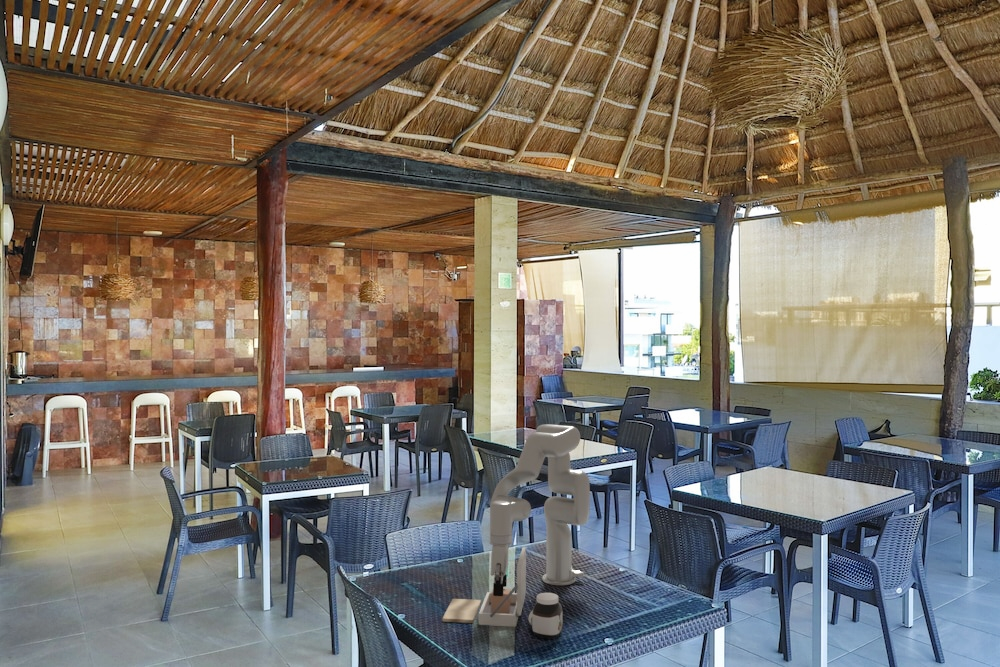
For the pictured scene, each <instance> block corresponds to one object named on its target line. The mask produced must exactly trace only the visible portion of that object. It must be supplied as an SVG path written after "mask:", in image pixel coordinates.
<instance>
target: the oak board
mask: <svg viewBox="0 0 1000 667" xmlns="http://www.w3.org/2000/svg"><path fill="white" fill-rule="evenodd" d="M481 605H482V599H467V598H465V599H464V598H452V599H451V601H450V603H449V605H448V607H447V608H446V611H445V612H444V615H443V616H442V618H441V619H442V623H445V622H446V623H465V624H466V623H467V624H474V621H475V619H476V616H477V614H478V613H479V612H478V611H479V610H480V609H479V608H481V607H480V606H481Z"/></svg>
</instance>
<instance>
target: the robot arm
mask: <svg viewBox="0 0 1000 667" xmlns="http://www.w3.org/2000/svg"><path fill="white" fill-rule="evenodd" d="M580 433H581V432H580V431H579V429H578V428H577V427H575V426H573V425H561V424H548V423H547V424H540V425H538V426H537V427H536V430H535V432H532V433H530V434H529V435H527V438H526V440H525V443H524V445H523V447H522V451H521V453H520V456H519V459H518V461H517V463H516V464H517V465H516V466H515V467H514V469H512V470H511V471H509V472H508V473H507V474H505V476H504V477H503V478H501V479H500V481H499V482H498V483H497V485H496V486H495V489H494V492H493V494H492V497H491V498H490V504H489V510H490V511H489V545H490V546H491V558H490V576H492V577H493V583H492V584H493V587H492V590H493V595H494V596H503V589H504V587H505V588H506V587H507V581H508V580H507V577H508V576H507V575H508V574H507V571H508V567H509V552H510V551H509V547H510V546H511V545H512V544H513V522H522V521H526V520H527V519H528V518H529V516H530V515H531V511H532V507H531V504H530V502H529V501H528V500H526V499H524V498H521V497H514V496H508V495H509V494H510V492H511V491H512V490H514V489H515V488H516V487H518V486H520V485H523V484H526V483H528V482H532V481H534V480H537V478H538V477H539V475H540V472H541V470H542V467H543V464H544V462H545V458H547V482H548V483H547V484H548V489H549V491H550V492H553V493H555V494H558V495H559V494H560V495H567V496H572V497H573V498H572V497H571V498H570V497H564V496H557V495H556V496H555V495H554V496H551V497H547V499H546V500H545V502H544V505H543V514H544V519H545V528H546V530H545V531H546V532H545V533H546V544H545V545H546V546H545V548H546V553H545V554H546V557H545V560H546V565H545V566H546V570H545V572H546V573H544V574H543V575H542V577H541V580H542V581H543V583H545V584H548V585H552V586H568V585H573V584H574V583H575V582H576V580H577V579H576V578H584V571H580V570H574V569H573V566H572V541H573V540H572V538H573V537H572V532H571V529H570V526H569V525H572V526H584V525H586V524H587V523H588V521H589V518H590V506H591V505H590V501H591V500H590V499H591V498H590V497H591V496H590V494H591V493H590V491H591V490H590V488H591V486H590V484H591V483H590V478H589V476H588V474H587V473H586V472H585V471H583V470H579V469H572V468H571V467H572V466H571V454H570V452H573V450H575V449H576V448H577V447H578V446H579V445H580V441H581V434H580Z"/></svg>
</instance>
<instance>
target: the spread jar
mask: <svg viewBox="0 0 1000 667" xmlns="http://www.w3.org/2000/svg"><path fill="white" fill-rule="evenodd" d="M528 622H529V624H530V625H531V626H532V632H533V633H534V635H535V636H536V637H538V638H541V639H544V640H549V639H550V640H551V639H555V638H557V637H558V636H560V634H561V632H562V629H563V606H562V604H561V603H560V602H559V595H558V594H556V593H553V592H540V593H538V594H536V603H535V605H534V606H533V609H532V610H531V611H530V613H529V615H528Z"/></svg>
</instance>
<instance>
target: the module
mask: <svg viewBox="0 0 1000 667" xmlns="http://www.w3.org/2000/svg"><path fill="white" fill-rule="evenodd" d="M511 590H512V589H511V588H503V596H494V595H493V589H492V590H491V592H492V593H491V613H493V611H494V610H495V609H496V608H497V607H498V606H499V604H500V603H501V602H502V601H503V600H504V599H505V597H506V596H507V595H508V594H509V593H510V591H511ZM510 611H511V595H510V597H509V598H508V599H507V600H506V601H505V602H504V604H503V605H502V606H501V607H500V608H499V610H498V611H497V612H496V613H502V614H510Z"/></svg>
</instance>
